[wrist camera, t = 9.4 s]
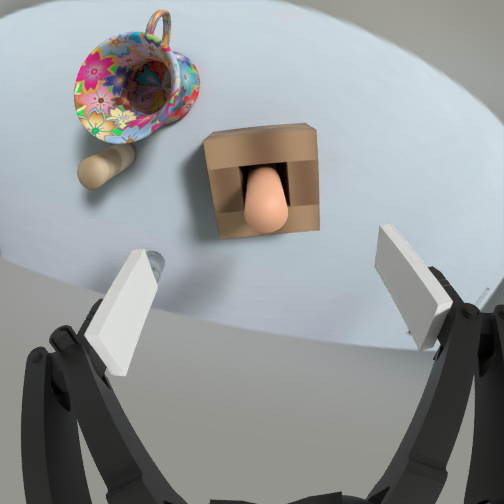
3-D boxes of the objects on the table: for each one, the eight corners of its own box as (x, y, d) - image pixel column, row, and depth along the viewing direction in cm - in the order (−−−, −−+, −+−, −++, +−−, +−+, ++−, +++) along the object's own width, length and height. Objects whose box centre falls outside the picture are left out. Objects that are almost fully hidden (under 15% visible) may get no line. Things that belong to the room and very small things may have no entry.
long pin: (250, 185, 32) (246, 234, 22) (247, 158, 30) (241, 194, 20) (278, 183, 32) (289, 231, 21) (276, 155, 30) (286, 190, 20)
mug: (189, 136, 29) (158, 157, 20) (116, 117, 27) (64, 132, 18) (227, 38, 23) (212, 11, 14) (148, 22, 21) (104, -2, 12)
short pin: (148, 272, 38) (138, 295, 34) (139, 254, 37) (127, 275, 33) (168, 268, 38) (160, 291, 34) (159, 248, 36) (149, 270, 32)
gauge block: (226, 214, 34) (220, 239, 29) (212, 132, 29) (202, 140, 24) (309, 207, 33) (319, 230, 28) (305, 123, 28) (316, 129, 23)
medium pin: (115, 169, 31) (82, 192, 24) (110, 144, 29) (74, 162, 22) (138, 164, 30) (107, 186, 24) (132, 138, 29) (99, 154, 22)
